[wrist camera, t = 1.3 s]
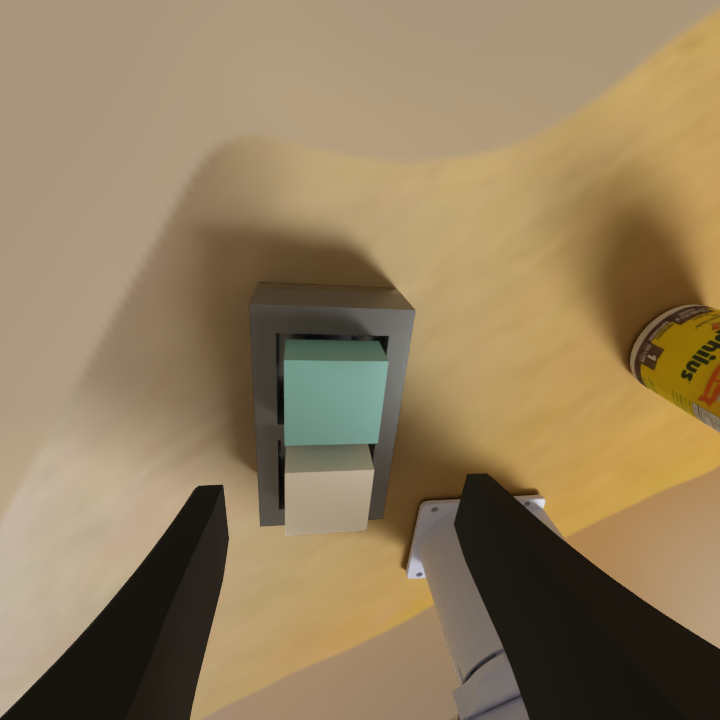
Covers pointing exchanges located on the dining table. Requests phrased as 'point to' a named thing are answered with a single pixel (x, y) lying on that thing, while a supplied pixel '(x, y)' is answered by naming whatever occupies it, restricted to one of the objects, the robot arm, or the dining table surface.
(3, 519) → the dining table surface
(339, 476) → the key cream
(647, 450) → the dining table surface
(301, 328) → the bezel
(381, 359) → the key teal
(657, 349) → the supplement bottle
